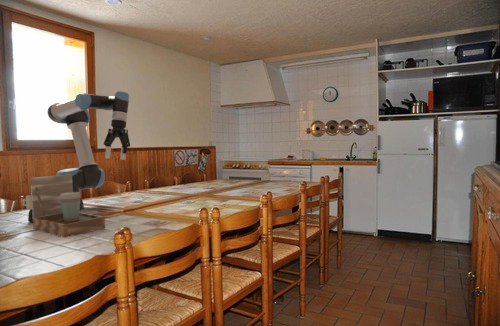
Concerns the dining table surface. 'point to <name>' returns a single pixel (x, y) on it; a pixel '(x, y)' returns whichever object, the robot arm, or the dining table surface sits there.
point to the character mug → (28, 207)
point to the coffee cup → (70, 205)
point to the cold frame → (58, 208)
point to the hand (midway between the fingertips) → (114, 159)
